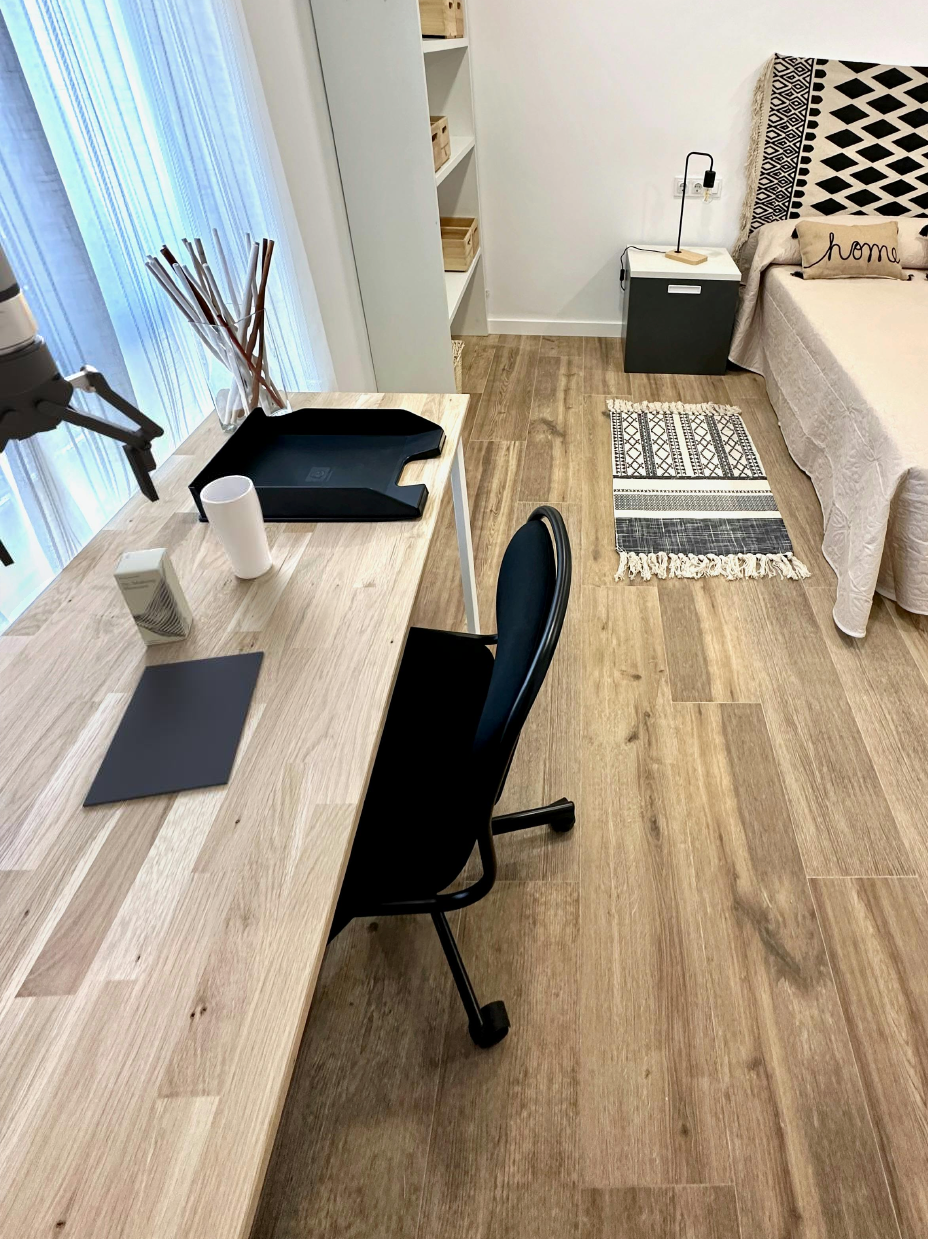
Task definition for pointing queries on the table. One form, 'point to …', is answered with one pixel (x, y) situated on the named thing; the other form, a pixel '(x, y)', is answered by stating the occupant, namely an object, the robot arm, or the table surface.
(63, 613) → the table surface
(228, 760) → the dark blue mat
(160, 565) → the box
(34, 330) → the robot arm
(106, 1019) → the table surface
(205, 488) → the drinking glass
